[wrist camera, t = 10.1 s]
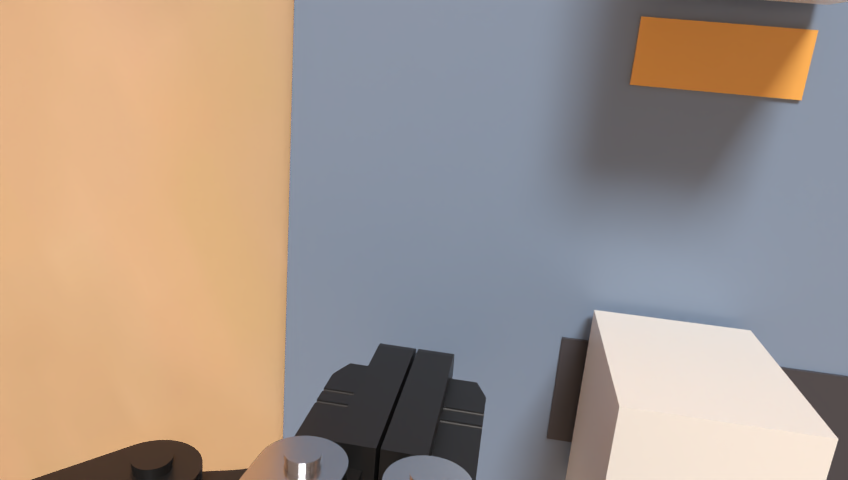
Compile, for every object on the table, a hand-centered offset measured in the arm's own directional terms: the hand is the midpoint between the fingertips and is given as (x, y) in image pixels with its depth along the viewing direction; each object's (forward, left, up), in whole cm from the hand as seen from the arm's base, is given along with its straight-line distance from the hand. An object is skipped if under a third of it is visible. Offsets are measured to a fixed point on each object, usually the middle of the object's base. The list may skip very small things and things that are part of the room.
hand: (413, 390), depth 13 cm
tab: (-5, 0, -1) cm, 5 cm away
